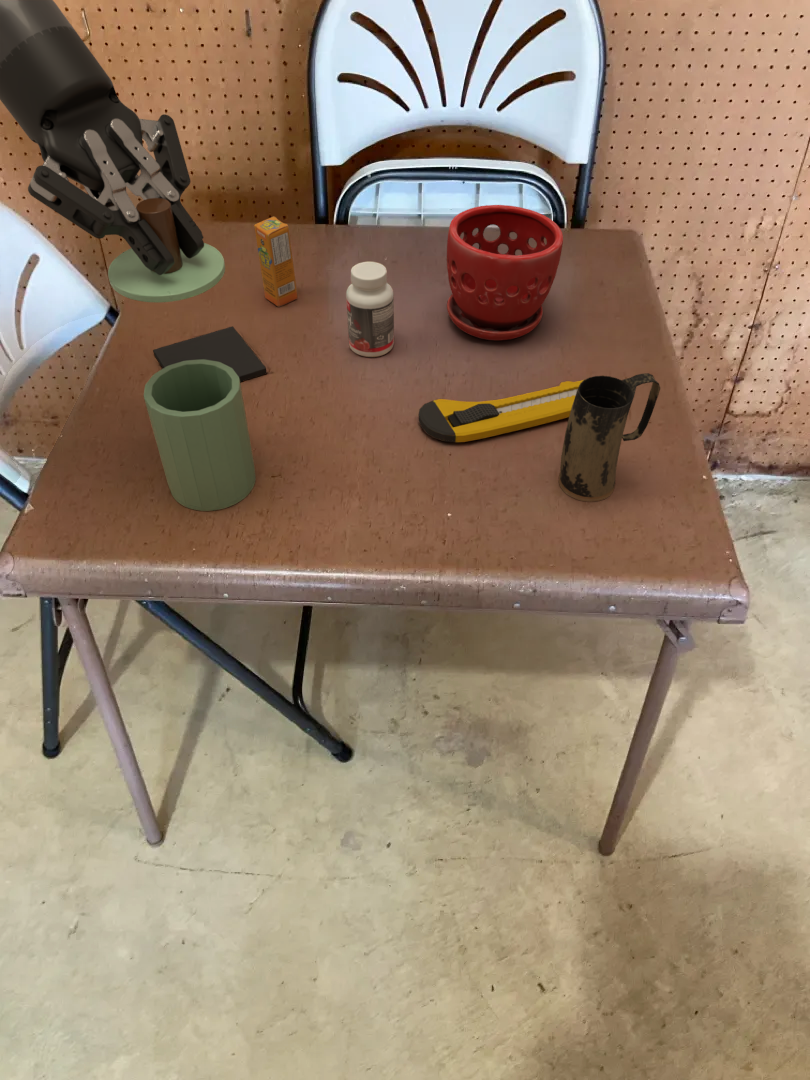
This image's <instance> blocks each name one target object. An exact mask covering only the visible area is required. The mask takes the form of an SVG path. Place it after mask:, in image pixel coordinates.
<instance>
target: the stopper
mask: <svg viewBox="0 0 810 1080" xmlns="http://www.w3.org/2000/svg"><path fill="white" fill-rule="evenodd" d="M135 208H136V209H137V211H138V213H139V220H140V221H142V220H144V219H145V220H146V221H147V223H148V224H149V225H150V227H151V228H152V229H153V231H154V232H155V233H156V235H157V236H158V237H159V239H160V240H161V241H162V243H163V244H164V245H165V247H166V248H167V249H168V251H169V252H170V253H171V255H172V256H173V258H174V264H173V265H172V267H171V268H170V269H169V270H168V271H167V272H165V273H164V274H162V275H158V274H157V273H156V272H155V271H154V270H152V271H151V270H149V269H148V268H147V267H145V265H144V264H143V263H142V261H141V260H140V259H139V257H138V256H137V255H136V253H135V252H134V251H133V250H132V248H131V247H130V248H129V249H127V250H125V251H123V252H122V253H120V254H119V255H118V256H116V257H115V258H114V259H113V260H112V262H111V263H110V264H109V267H108V270H107V277H108V281H109V284H110V287H111V288H112V289H113V290H114V291H115V292H116V293H117V294H119V295H120V296H123V297H125V298H127V299H130V300H134V301H138V302H141V303H142V302H144V303H173V302H179V301H183V300H187V299H190V298H193V297H196V296H199V295H202V294H203V293H205V292H208V291H210V290H211V289H213V288H214V287H215V286H216V285H217V284H219V282H220V281H221V280H222V279H223V277H224V275H225V272H226V264H225V259H224V255H223V254H222V252H220V251H219V250H218V249H217V248H216V247H214V246H212V245H210V244H208V243H205V242H204V247H203V248H202V250H201V251H200V252H199V253H198V254H197V255H196V256H194V257H192V258H187V257H186V256H185V254H184V253H183V252H182V250H181V249H180V247H179V242H178V237H177V232H176V227H175V223H174V218H173V213H172V208H171V203H170V202H169V201H168V200H166V199H162V198H151V199H146V200H144V199H142V200H141V201H139V202H137V204H136V206H135Z"/></svg>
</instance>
